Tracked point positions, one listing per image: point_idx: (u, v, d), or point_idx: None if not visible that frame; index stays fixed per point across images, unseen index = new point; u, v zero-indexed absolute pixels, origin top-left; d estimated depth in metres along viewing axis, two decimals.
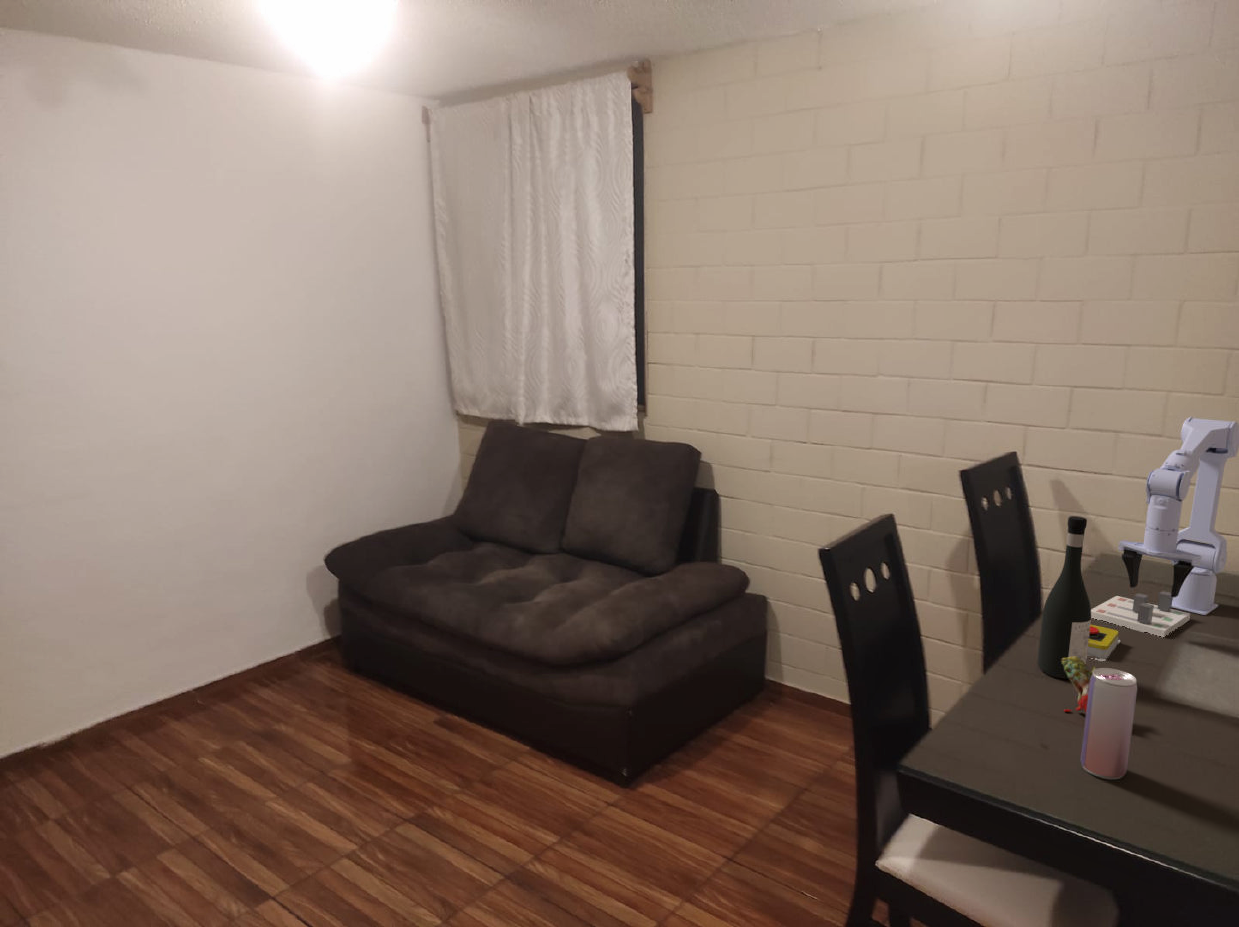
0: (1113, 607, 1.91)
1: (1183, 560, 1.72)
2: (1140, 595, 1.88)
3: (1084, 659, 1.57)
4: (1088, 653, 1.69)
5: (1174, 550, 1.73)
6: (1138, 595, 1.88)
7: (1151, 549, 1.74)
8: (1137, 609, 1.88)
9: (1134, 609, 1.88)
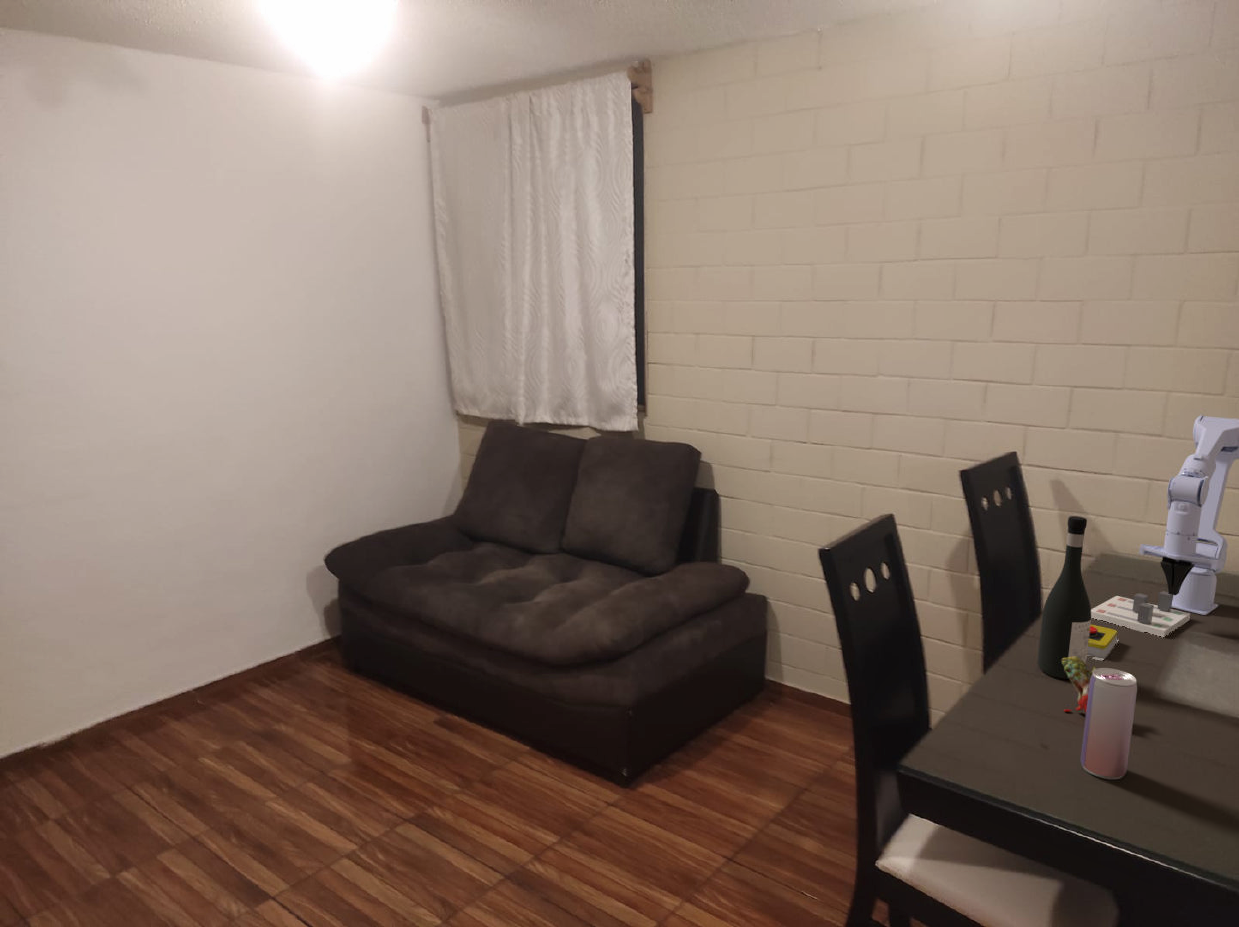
0: (1113, 607, 1.91)
1: (1202, 563, 1.78)
2: (1140, 595, 1.88)
3: (1084, 659, 1.57)
4: (1087, 652, 1.69)
5: (1194, 554, 1.79)
6: (1138, 595, 1.88)
7: (1171, 553, 1.80)
8: (1137, 609, 1.88)
9: (1134, 609, 1.88)
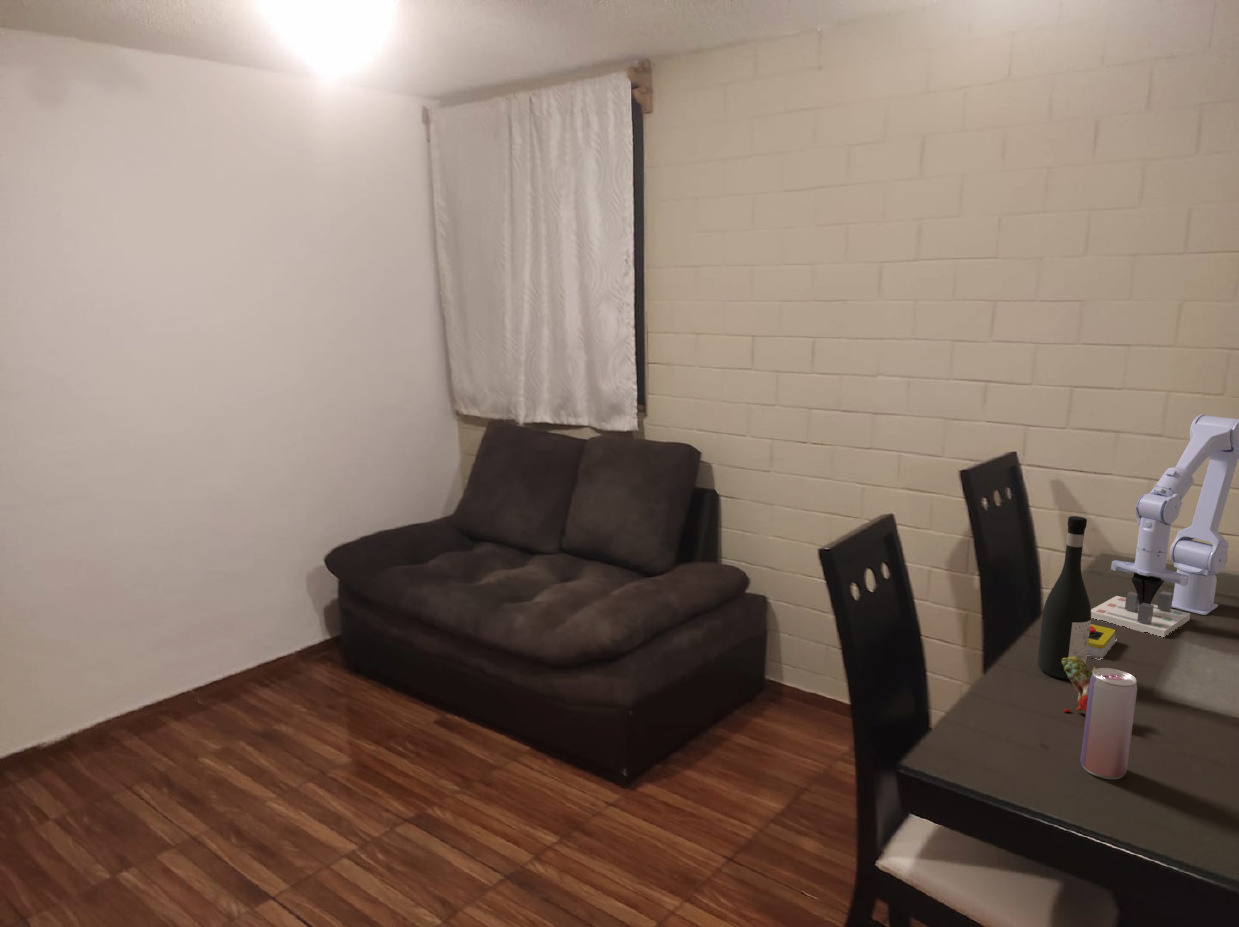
0: (1113, 607, 1.91)
1: (1172, 579, 1.83)
2: (1132, 593, 1.89)
3: (1084, 659, 1.57)
4: None
5: (1163, 570, 1.84)
6: (1130, 593, 1.89)
7: (1142, 569, 1.85)
8: (1129, 607, 1.89)
9: (1126, 607, 1.89)
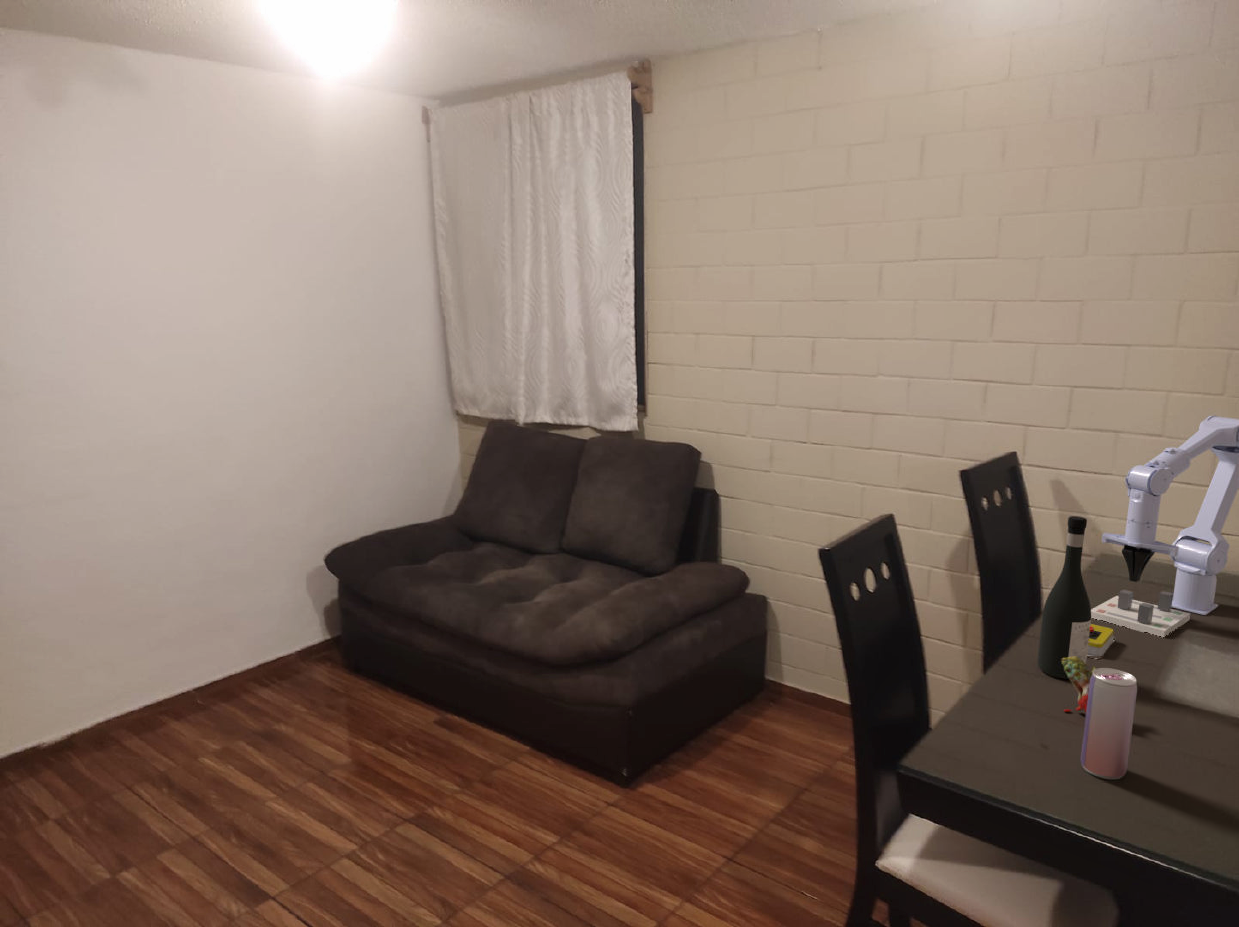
0: (1113, 607, 1.91)
1: (1161, 551, 1.84)
2: (1125, 591, 1.90)
3: (1084, 659, 1.57)
4: None
5: (1153, 542, 1.85)
6: (1123, 591, 1.90)
7: (1132, 541, 1.85)
8: (1122, 605, 1.90)
9: (1119, 605, 1.90)
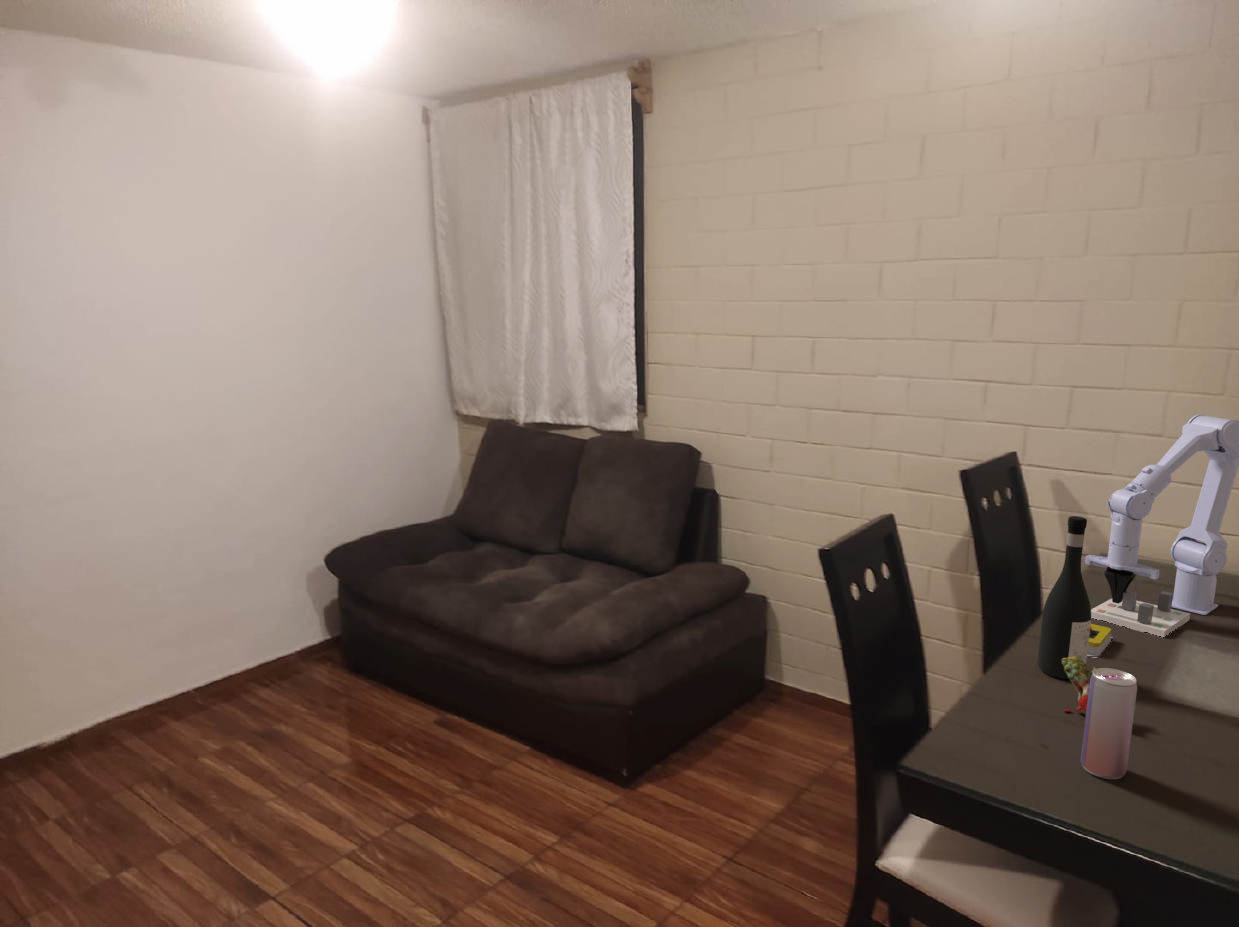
0: (1113, 607, 1.91)
1: (1143, 573, 1.87)
2: (1129, 592, 1.90)
3: (1084, 659, 1.57)
4: None
5: (1135, 564, 1.88)
6: (1127, 592, 1.90)
7: (1114, 563, 1.89)
8: (1126, 606, 1.89)
9: (1123, 606, 1.90)
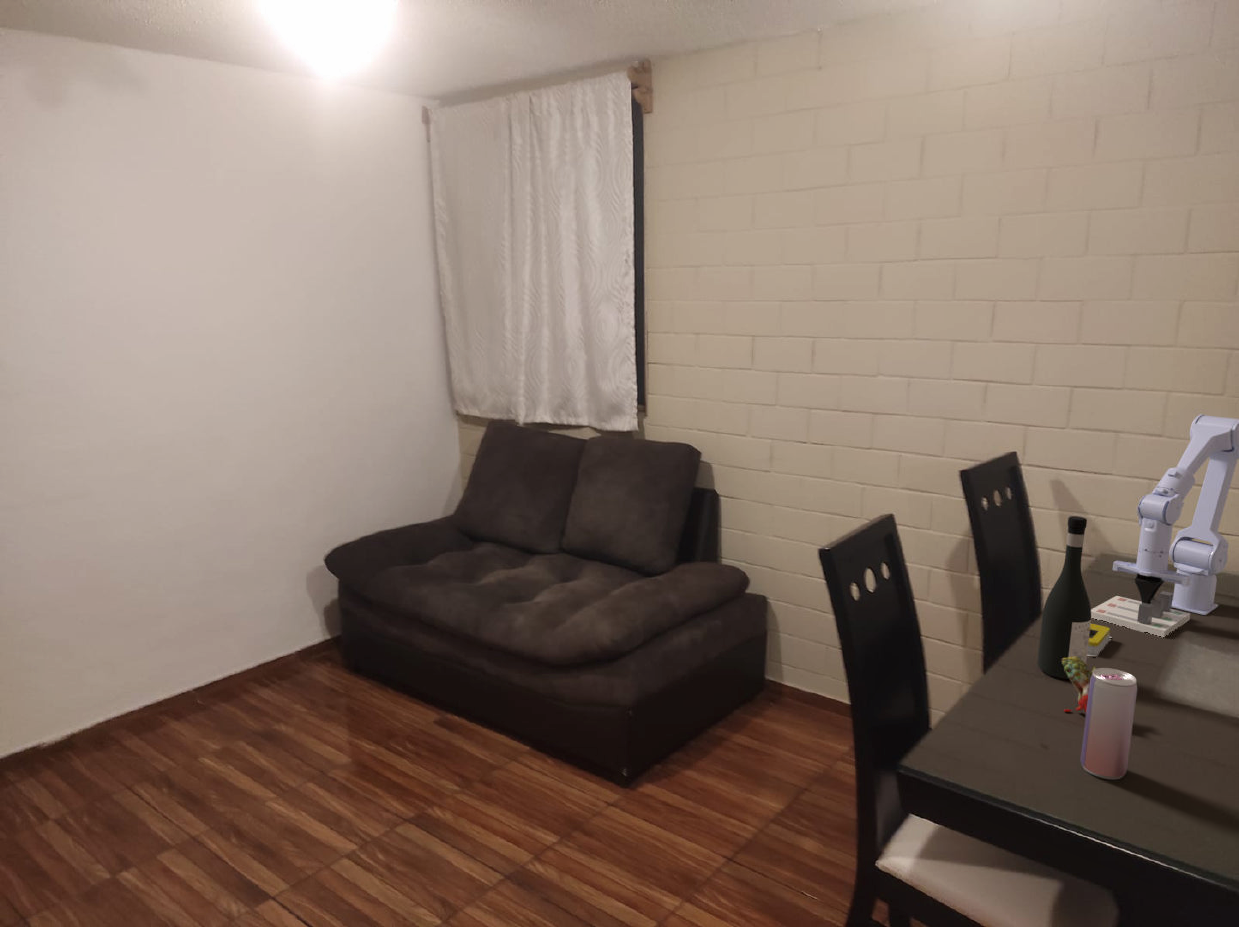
0: (1113, 607, 1.91)
1: (1173, 580, 1.83)
2: (1157, 599, 1.85)
3: (1084, 659, 1.57)
4: None
5: (1165, 571, 1.83)
6: (1155, 599, 1.85)
7: (1143, 570, 1.84)
8: (1154, 613, 1.85)
9: None
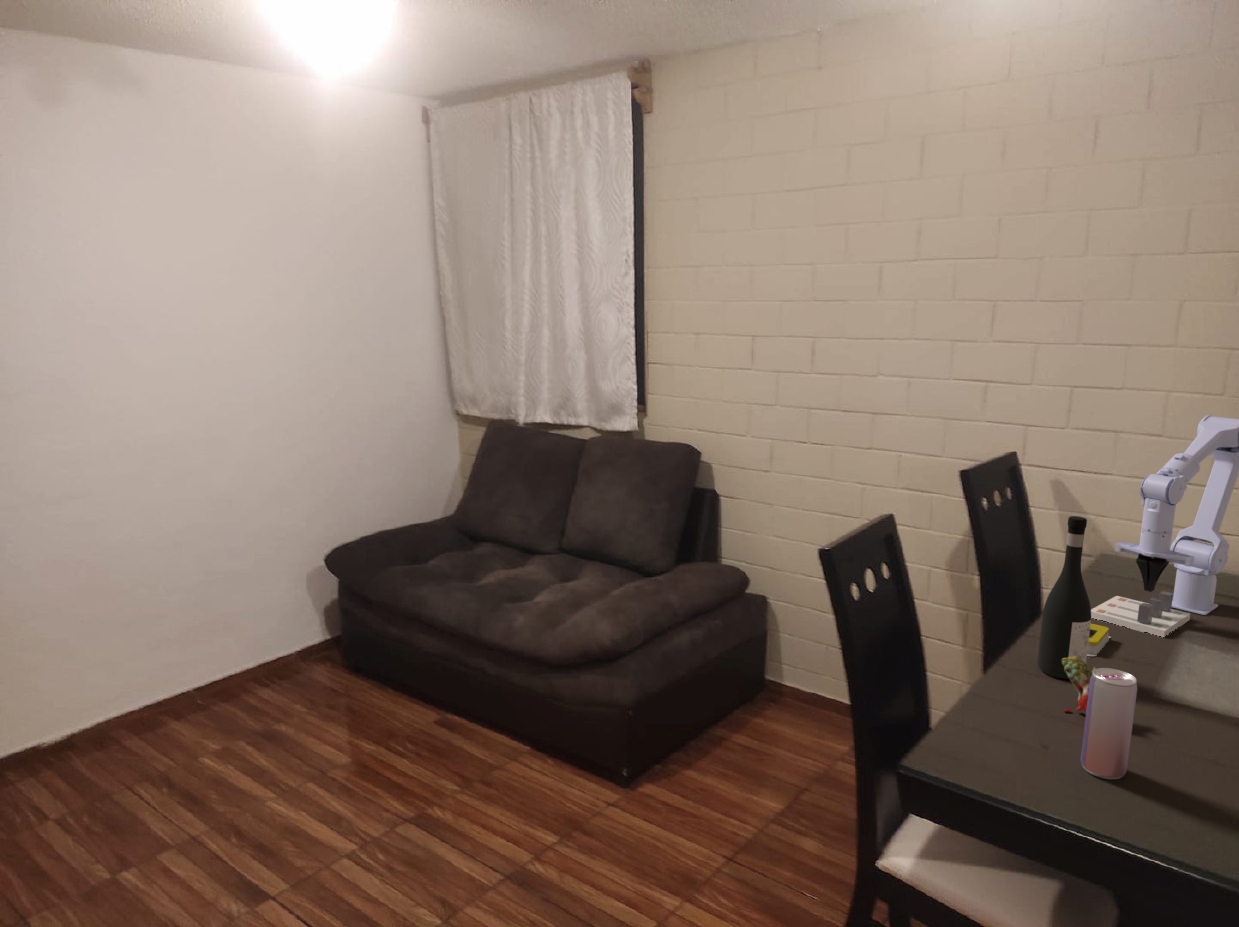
0: (1113, 607, 1.91)
1: (1176, 560, 1.82)
2: (1156, 599, 1.86)
3: (1084, 659, 1.57)
4: None
5: (1168, 551, 1.83)
6: (1153, 599, 1.86)
7: (1146, 550, 1.83)
8: None
9: None
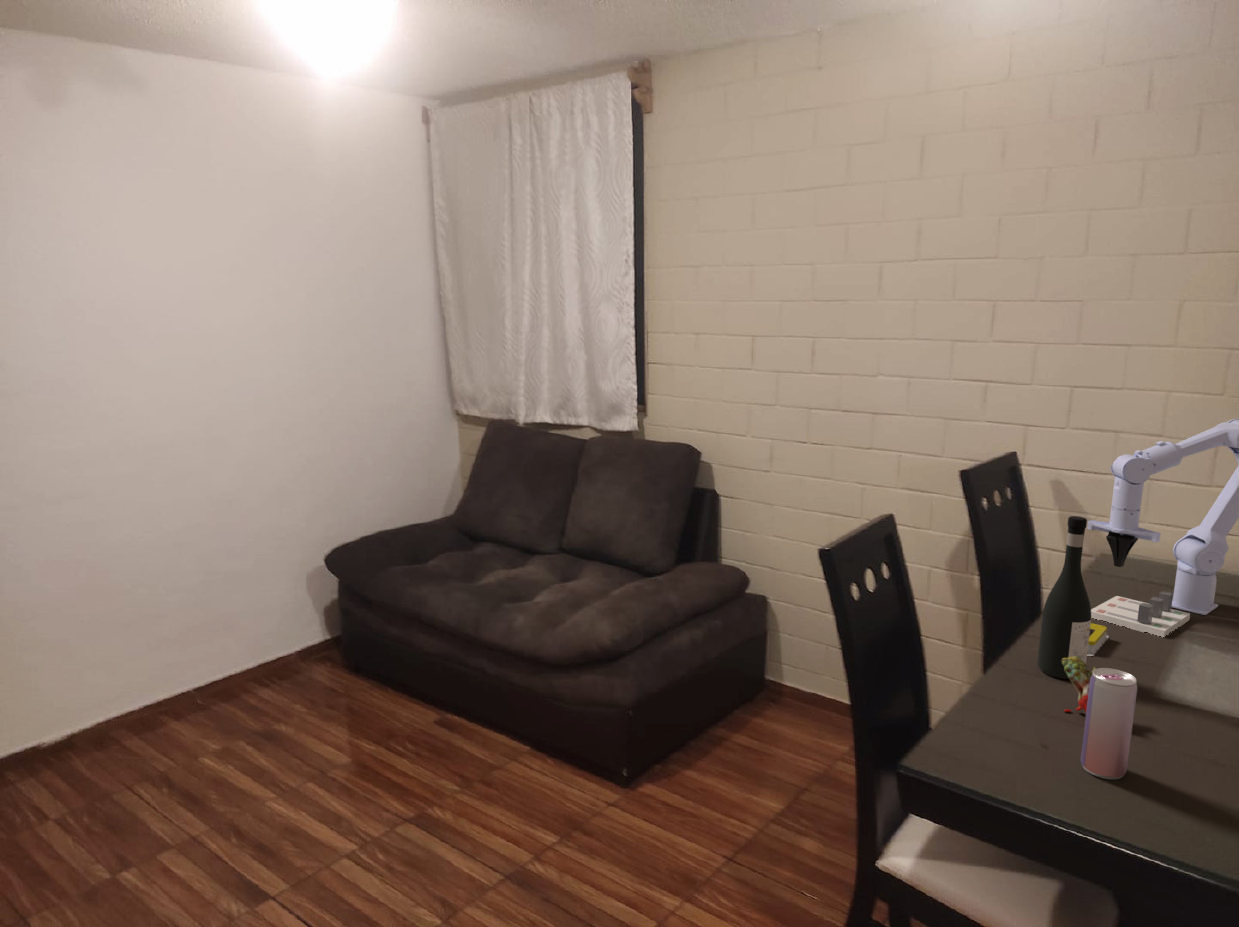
0: (1113, 607, 1.91)
1: (1144, 537, 1.91)
2: (1156, 599, 1.86)
3: (1084, 659, 1.57)
4: None
5: (1136, 528, 1.92)
6: (1153, 599, 1.86)
7: (1116, 527, 1.93)
8: None
9: None
